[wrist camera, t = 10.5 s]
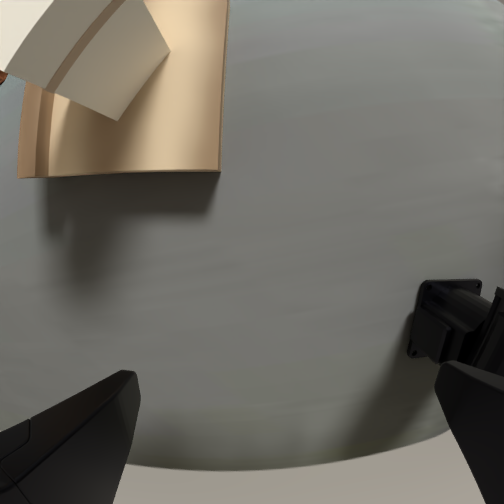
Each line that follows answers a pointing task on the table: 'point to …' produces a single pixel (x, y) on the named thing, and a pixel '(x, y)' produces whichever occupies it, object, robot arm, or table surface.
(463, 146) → the table surface
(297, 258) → the table surface
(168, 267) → the table surface
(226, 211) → the table surface
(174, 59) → the display stand
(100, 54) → the upright case
